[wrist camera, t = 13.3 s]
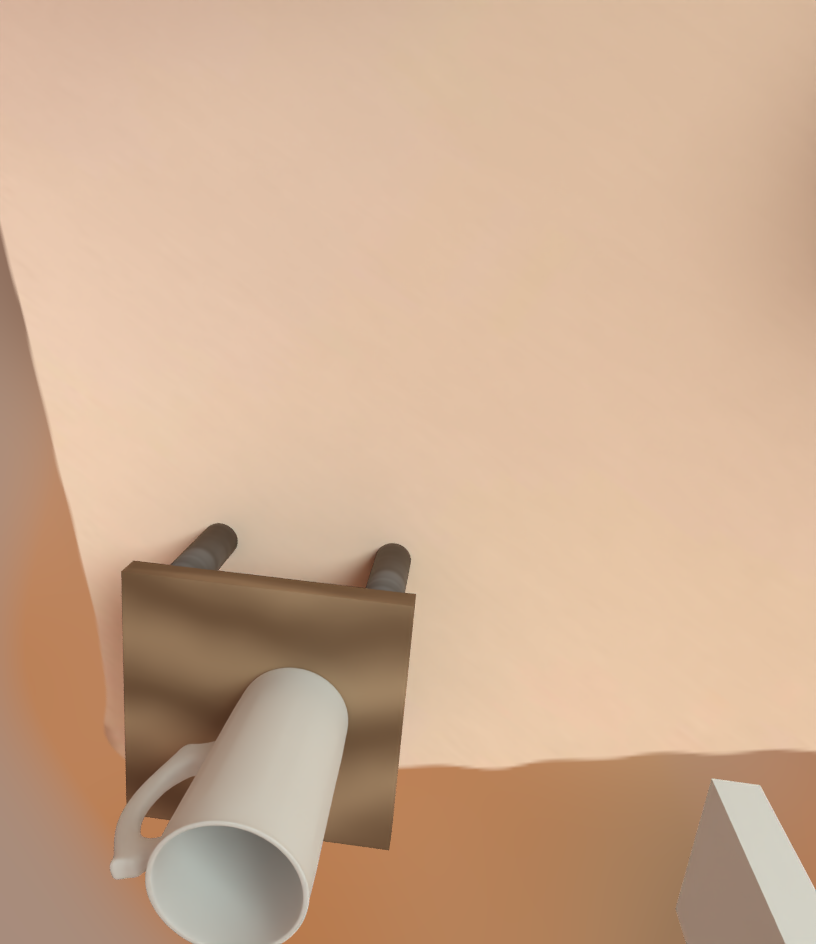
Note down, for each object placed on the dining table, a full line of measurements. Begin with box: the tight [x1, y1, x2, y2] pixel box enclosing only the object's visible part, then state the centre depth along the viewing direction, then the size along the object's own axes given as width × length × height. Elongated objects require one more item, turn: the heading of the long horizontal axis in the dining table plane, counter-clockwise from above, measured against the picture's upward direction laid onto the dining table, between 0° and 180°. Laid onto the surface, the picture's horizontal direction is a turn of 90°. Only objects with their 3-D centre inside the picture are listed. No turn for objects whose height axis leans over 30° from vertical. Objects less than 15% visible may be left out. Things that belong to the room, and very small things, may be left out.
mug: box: [110, 668, 348, 944], centre depth 35 cm, size 10×7×12 cm, turn 96°
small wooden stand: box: [121, 523, 416, 850], centre depth 46 cm, size 16×16×10 cm
